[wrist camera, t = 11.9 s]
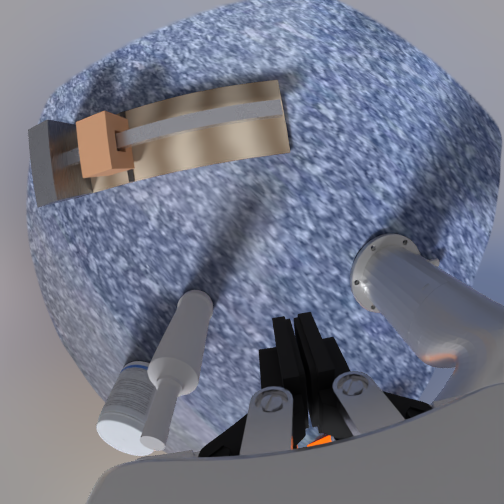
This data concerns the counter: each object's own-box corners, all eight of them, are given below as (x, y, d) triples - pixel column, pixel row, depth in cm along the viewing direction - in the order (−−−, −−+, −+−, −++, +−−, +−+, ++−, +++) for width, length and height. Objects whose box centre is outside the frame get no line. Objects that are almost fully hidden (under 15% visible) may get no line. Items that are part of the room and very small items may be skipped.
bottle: (175, 290, 40) (109, 421, 16) (209, 285, 40) (171, 424, 16) (184, 321, 42) (137, 458, 18) (217, 317, 42) (194, 461, 18)
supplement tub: (113, 369, 45) (83, 425, 30) (146, 350, 43) (117, 411, 29) (149, 403, 47) (129, 460, 33) (183, 387, 46) (168, 451, 31)
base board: (276, 82, 33) (277, 79, 31) (289, 152, 35) (290, 152, 34) (69, 134, 33) (65, 134, 32) (78, 197, 36) (74, 198, 35)
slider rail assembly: (269, 82, 33) (277, 54, 23) (281, 153, 35) (294, 147, 26) (69, 134, 33) (28, 129, 24) (78, 197, 36) (37, 207, 26)
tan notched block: (127, 119, 31) (104, 110, 25) (134, 168, 33) (111, 168, 27) (102, 128, 32) (76, 122, 25) (108, 175, 33) (82, 178, 27)
